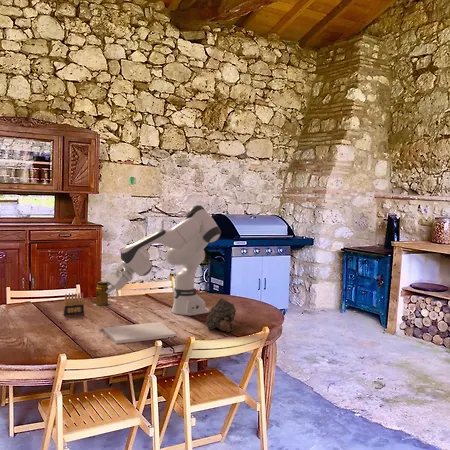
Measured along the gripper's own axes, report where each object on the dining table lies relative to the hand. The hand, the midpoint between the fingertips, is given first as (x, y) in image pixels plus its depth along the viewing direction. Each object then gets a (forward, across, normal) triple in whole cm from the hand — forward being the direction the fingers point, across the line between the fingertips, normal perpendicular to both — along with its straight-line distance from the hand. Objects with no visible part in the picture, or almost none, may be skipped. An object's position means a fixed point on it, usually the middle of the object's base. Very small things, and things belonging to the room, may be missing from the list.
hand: (104, 291), depth 251 cm
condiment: (+6, 0, +5) cm, 7 cm away
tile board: (+3, +23, +20) cm, 31 cm away
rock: (-26, +30, +50) cm, 64 cm away
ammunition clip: (+20, -24, +5) cm, 32 cm away
